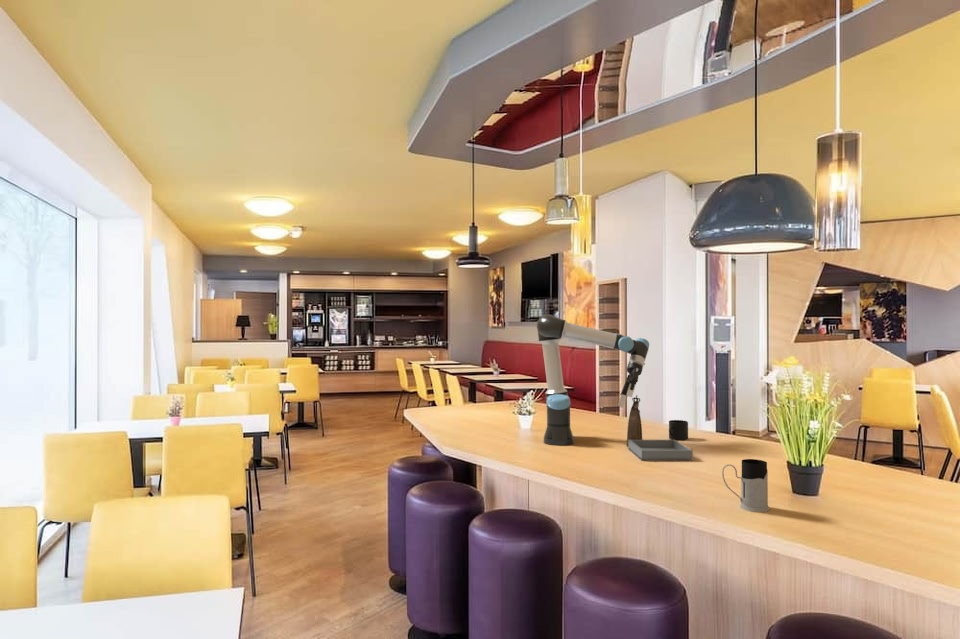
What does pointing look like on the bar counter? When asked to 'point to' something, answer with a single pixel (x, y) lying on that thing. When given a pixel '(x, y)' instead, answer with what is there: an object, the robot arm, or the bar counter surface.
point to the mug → (678, 430)
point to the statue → (634, 422)
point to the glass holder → (753, 485)
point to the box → (660, 450)
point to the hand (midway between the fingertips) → (624, 401)
